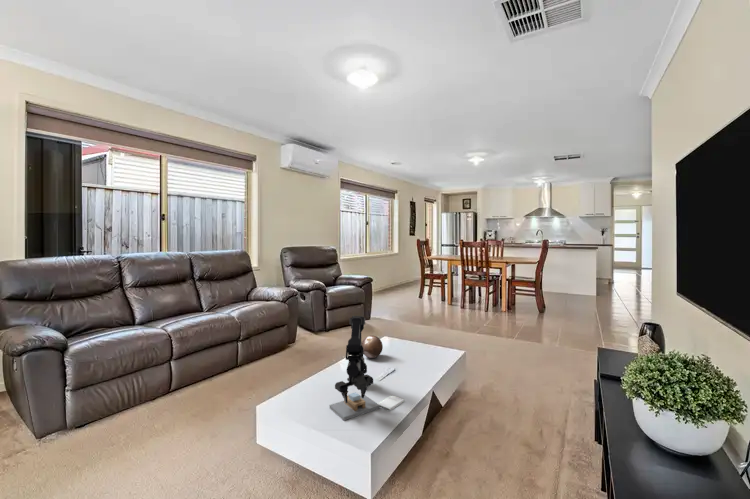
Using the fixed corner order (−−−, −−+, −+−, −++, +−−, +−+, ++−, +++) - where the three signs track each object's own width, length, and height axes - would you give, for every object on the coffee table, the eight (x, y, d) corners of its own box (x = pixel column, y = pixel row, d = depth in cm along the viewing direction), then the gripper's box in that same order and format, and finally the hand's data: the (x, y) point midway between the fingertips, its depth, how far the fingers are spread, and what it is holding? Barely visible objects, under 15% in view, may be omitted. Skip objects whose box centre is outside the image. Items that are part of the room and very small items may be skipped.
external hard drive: (376, 406, 170) (391, 397, 179) (389, 412, 164) (404, 402, 174) (376, 403, 170) (391, 394, 179) (389, 408, 164) (404, 399, 174)
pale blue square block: (355, 396, 170) (355, 392, 170) (360, 399, 167) (360, 395, 167) (348, 398, 168) (348, 394, 168) (352, 401, 164) (352, 397, 164)
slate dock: (364, 397, 179) (364, 394, 179) (379, 408, 167) (379, 405, 167) (329, 408, 167) (329, 405, 167) (343, 420, 156) (343, 417, 156)
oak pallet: (354, 399, 173) (354, 393, 173) (365, 407, 165) (365, 401, 165) (344, 402, 170) (344, 396, 169) (354, 411, 161) (354, 404, 161)
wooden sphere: (358, 359, 234) (357, 338, 234) (365, 353, 248) (364, 332, 248) (379, 362, 230) (379, 339, 229) (385, 355, 244) (385, 333, 244)
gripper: (345, 378, 155) (346, 412, 155) (379, 369, 165) (379, 401, 166) (334, 370, 164) (334, 403, 164) (367, 362, 174) (367, 393, 175)
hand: (354, 400), depth 167 cm, fingers open, 9 cm apart
